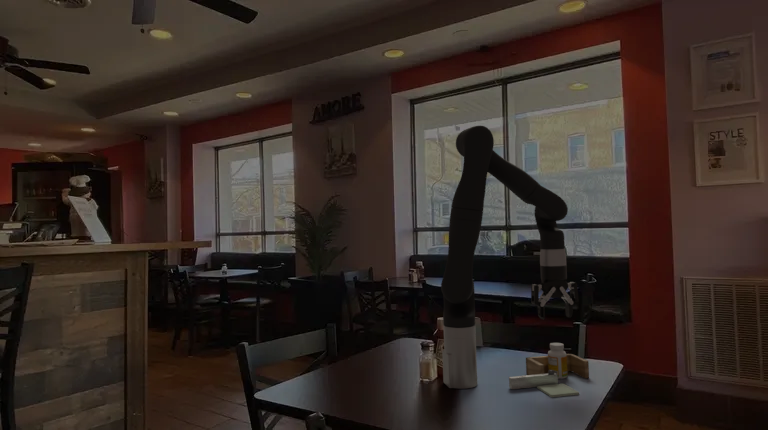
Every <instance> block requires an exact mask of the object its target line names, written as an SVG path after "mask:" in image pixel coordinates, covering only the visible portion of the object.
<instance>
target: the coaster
mask: <svg viewBox="0 0 768 430" xmlns="http://www.w3.org/2000/svg"><path fill="white" fill-rule="evenodd" d="M536 388H537V390H539V391H541V392H542V393H544V394H546V395H547V396H549V397H550V398H559V397H568V396H569V397H570V396H579V395H580V392H579V391H578V390H576V389H574V388H572V387H571V386H569V385H566V384H565V383H558V384H554V385H544V386H537V387H536Z"/></svg>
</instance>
